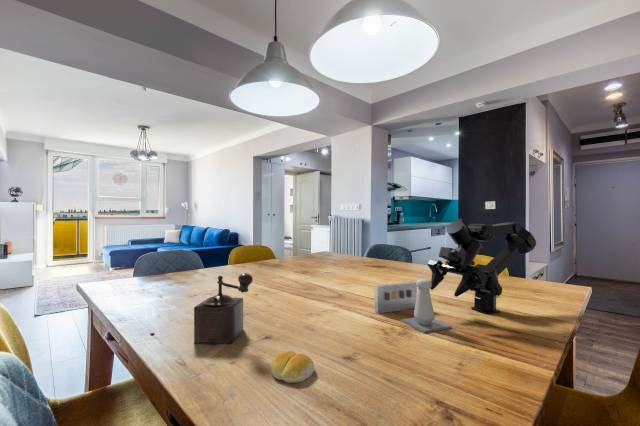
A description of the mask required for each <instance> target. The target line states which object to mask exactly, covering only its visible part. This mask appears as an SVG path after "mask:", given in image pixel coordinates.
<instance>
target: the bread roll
mask: <svg viewBox="0 0 640 426" xmlns="http://www.w3.org/2000/svg"><path fill="white" fill-rule="evenodd" d="M270 370H271V374H272V377H274V378H275V379H277V380H278V381H279V380H280V381H283V382H285V383H291V384H293V383H300V382H304V381H305V380H307V379H309V378H310V377H311V376H312V375H313V374H314V371H315V364H314V360H312V358H311V357H310V356H308V355H306V354H304V353H299V354H298V353H296V352H295V351H294V350H293V351H291V350H287V351H283V352H280V353H278V354H277V355H275V357H274V358H273V360H272V362H271V366H270Z"/></svg>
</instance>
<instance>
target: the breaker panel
mask: <svg viewBox="0 0 640 426" xmlns="http://www.w3.org/2000/svg"><path fill="white" fill-rule="evenodd" d="M416 282H417V281H405V282H395V283H385V284H375V285H374V313H376V314H377V315H379V314H384V313H392V312H398V311H399V312H400V311H406V310H412V309H414V310H415V305H416V299H417V294H418V287H417V285H416Z"/></svg>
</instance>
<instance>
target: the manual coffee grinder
mask: <svg viewBox="0 0 640 426" xmlns="http://www.w3.org/2000/svg"><path fill="white" fill-rule="evenodd" d="M223 279H224V277H223V275H219V276H218V277H217V284H218V290H217V294H215V295H213V296H210V297H208V298H206V299H204V300H203V301H202V302H200V303H199V304H197V305H195V306H194V307H193V308H194V309H193V334H194V335H193V336H194V337H193V339H194V340H193V344H200V343H205V344H206V343H207V345H217V344H218V345H221V344H232V343H233V342H235V341H236V340H237V339H238V338H239V337H240V336H241V334H242V333H243V331H244V297H232V296H229V295H227V294H223V287H227V288H230V289H231V288H232V289H234V290H235V289H236V290H238V291H239V292H241V294H243V293H247V292H249V286H250V285H251V284H252V283H253V281H254V280H253V276H252V275H251V274H250V273H247V272H246V273H241V274H240V275H239V276H238V278H237V279H238V282H239V285H236V284H231V283H226V282H224V281H223ZM242 330H243V331H242ZM241 332H242V333H241ZM238 336H239V337H238ZM205 344H204V345H205Z"/></svg>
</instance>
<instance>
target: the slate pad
mask: <svg viewBox="0 0 640 426" xmlns="http://www.w3.org/2000/svg"><path fill="white" fill-rule="evenodd" d="M401 322H403V323H404V324H406V325H408V326H410V327H412V328H414V329H415V330H417V331H420V333H422V334H425V333H426V334H427V333H431V332H437V331H442V330H449V329H452V328H453V327H452V325H450V324H449V323H448V324H447V323H446V322H444V321H441V320H439V319H436V318H435V317H434V319H433V321H432V323H431V325H426V326H425V325H420V324H418V323H417V321H416V319H415V316H414V317H410V318H409V317H408V318H403V319H401Z"/></svg>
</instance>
